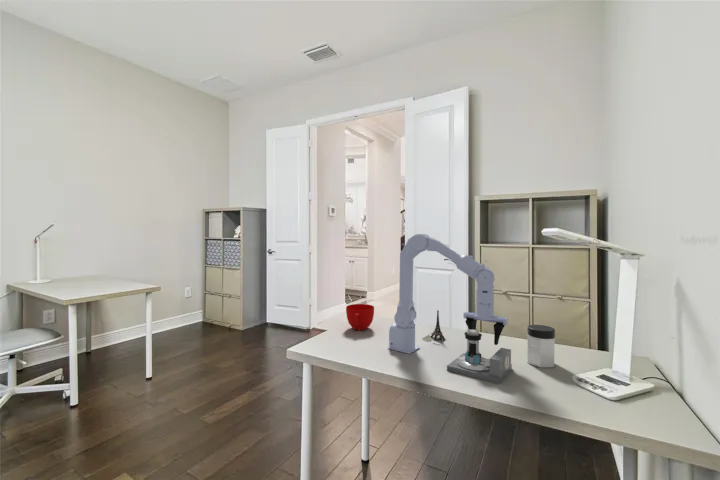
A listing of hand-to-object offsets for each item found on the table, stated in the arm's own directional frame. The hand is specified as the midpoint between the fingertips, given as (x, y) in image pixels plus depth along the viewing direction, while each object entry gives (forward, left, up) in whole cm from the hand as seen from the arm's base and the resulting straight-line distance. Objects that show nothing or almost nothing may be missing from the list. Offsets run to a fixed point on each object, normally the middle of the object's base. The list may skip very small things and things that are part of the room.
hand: (484, 341), depth 117 cm
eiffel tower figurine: (-23, +12, -7) cm, 27 cm away
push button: (0, -10, -4) cm, 10 cm away
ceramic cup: (-57, +2, -6) cm, 57 cm away
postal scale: (+2, -10, -6) cm, 12 cm away
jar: (+16, +8, -6) cm, 19 cm away
